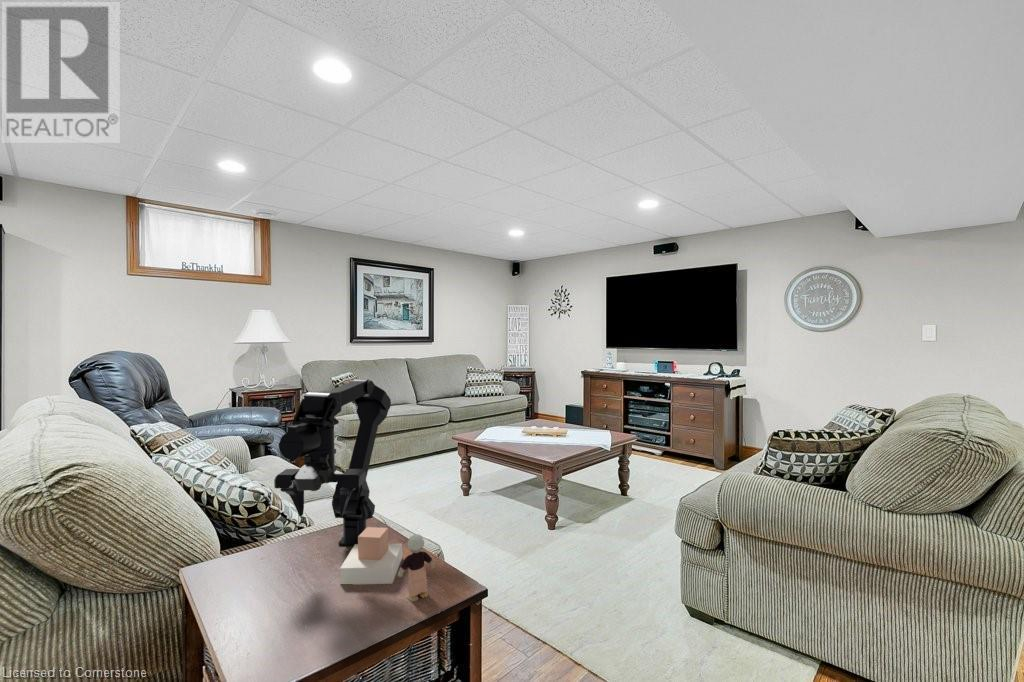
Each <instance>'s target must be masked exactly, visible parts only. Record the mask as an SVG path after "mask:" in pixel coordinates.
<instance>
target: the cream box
mask: <svg viewBox="0 0 1024 682" xmlns="http://www.w3.org/2000/svg"><path fill="white" fill-rule="evenodd" d="M402 560H403V544H402V543H388V550H387V552H386V553H385V554H384V556H383V557H382V558H381V560H369V559H358V544H355V545H353V547H352V548H351V550H350V552H349V553H348V555H347V556H346V558H345V559H344V561H343V563H342V564H341V566H340V568H339V584H353V585H389V584H390V585H391V584H393V583H394V581H395V578H396V575H397V574H398V571H399V569H400V568H399V567H400V566H401V563H402Z"/></svg>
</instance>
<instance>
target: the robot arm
mask: <svg viewBox="0 0 1024 682" xmlns="http://www.w3.org/2000/svg"><path fill="white" fill-rule="evenodd" d="M352 402H353V403H354V405H355V406H356V414H357V416H358V420H359V425H358V430H357V434H356V437H355V443H354V445H353V450H352V454H351V457H350V458H351V459H350V462H349V465H348V468H347V469H346V470H345V471H344V472H343V473H335V472H336V471H337V466H336V465H335V455H336V454H337V448H335V425H339V422H340V421H339V420H338V418H336V416H337V415H339V414H340V413H341V412H342V408H343V406H346V405H348V404H350V403H352ZM391 406H392V402H391V398H390V396H389V395H388V394H387V392H386V391H385V390H384V389H383V388H381V387H379V386H377V385H376V384H375V383H374V381H373V380H371V379H366V378H365V379H361V378H355V379H353V380H352V381H350V382H348V383H346V384H343V385H340V386H338V387H335V388H332V389H330V390H321V391H319V390H318V391H309V392H308V391H307V392H306V393H305V394H303V398H302V399H301V400H300V403H299V405H298V408H297V410H296V413H295V416H294V418H293V421H292V423H291V425H289V426H287V432H285V433H284V434H283V435H282V436H281V437H280V440H279V443H278V448H279V453H280V454H281V455H282V456H283V457H284V459H287V460H290V461H293V460H294V461H295V460H297V459H299V458H302V457H304V460H303V461H304V462H303V464H302V466H301V467H300V468H286V469H284V470H283V471H281V472H279V473H278V474H277V475H276V476H275V478H274V480H273V481H274V482H273V483H274V484H273V485H274V489H280V492H283V493H285V494H287V495H288V496H289V497H290V498H291V501H292V503H293V504H294V507H295V509H296V512H297V514H298V516H299V517H302V516H304V508H305V491H311V492H317V491H319V490H320V489H321V487H322V485H323V484H330V483H336V484H335V488H334V494H333V495H332V497H331V498H332V499H331V508H332V510H333V515H334V518H335V519H342V537H341V538H340V540H339V541H338V543H337V544H338V546H354V545H355V544H358V536H359V535H360V534H361V533H362V532H363V531H364V530H365V529H366V528H367V520H369V519H372V518H373V515H374V514H375V511H376V510H375V509H376V505H375V503H374V502H373V501H372V499H370V488H369V486H368V482H367V476H368V472H369V467H370V463H371V459H372V455H373V451H374V445H375V442H376V437H377V433H378V429H379V426H380V425H381V424H382V423H383V422H384V421H385V420H386V419H387V416H388V413H389V410H390V409H391Z"/></svg>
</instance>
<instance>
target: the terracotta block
mask: <svg viewBox="0 0 1024 682" xmlns="http://www.w3.org/2000/svg"><path fill="white" fill-rule="evenodd" d="M388 544H389V528H388V527H374V526H366V529H365V530H364V531H363V532H362V533H361V534H360V535H359V536H358V559H369V560H381V558H382V557H383V556H384V554H385V553H386V552H387V550H388Z"/></svg>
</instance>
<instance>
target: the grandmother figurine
mask: <svg viewBox="0 0 1024 682" xmlns="http://www.w3.org/2000/svg"><path fill="white" fill-rule="evenodd" d="M424 546H425V540H424V538H423V536H422V535H421V534H418V533H417V534H413V535H411V536H410V537H409V539H408V541H407V548H408V549H409V550H410V552H411V554H409V555H407V556H406V557H405V558H404V559H403V561H401V563H400V565H399V567H400V568H399V569H398V571H397V577H399V578H402V577H403V576H404V572H406V570H407V569H408V574H407V575H408V594H407V595H406V596H407V597H406V599H407V600H409V601H411V602H413V603H415V602H417V601H418V600H419V597H420V598H421V597H422V599H425V598H428V597H429V590H428V581H427V579H428V578H427V571H426V565H425V562H426V563H427V564H428V565H429V568H430V569H434V568H435V566H436V565H435V564H436V563H434V560H433V558H432V557H431V556H430V555H429V553H427V552H426V551H422V549H423V547H424ZM418 595H419V596H418ZM427 596H428V597H427ZM424 597H425V598H424ZM414 601H415V602H414Z"/></svg>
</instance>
